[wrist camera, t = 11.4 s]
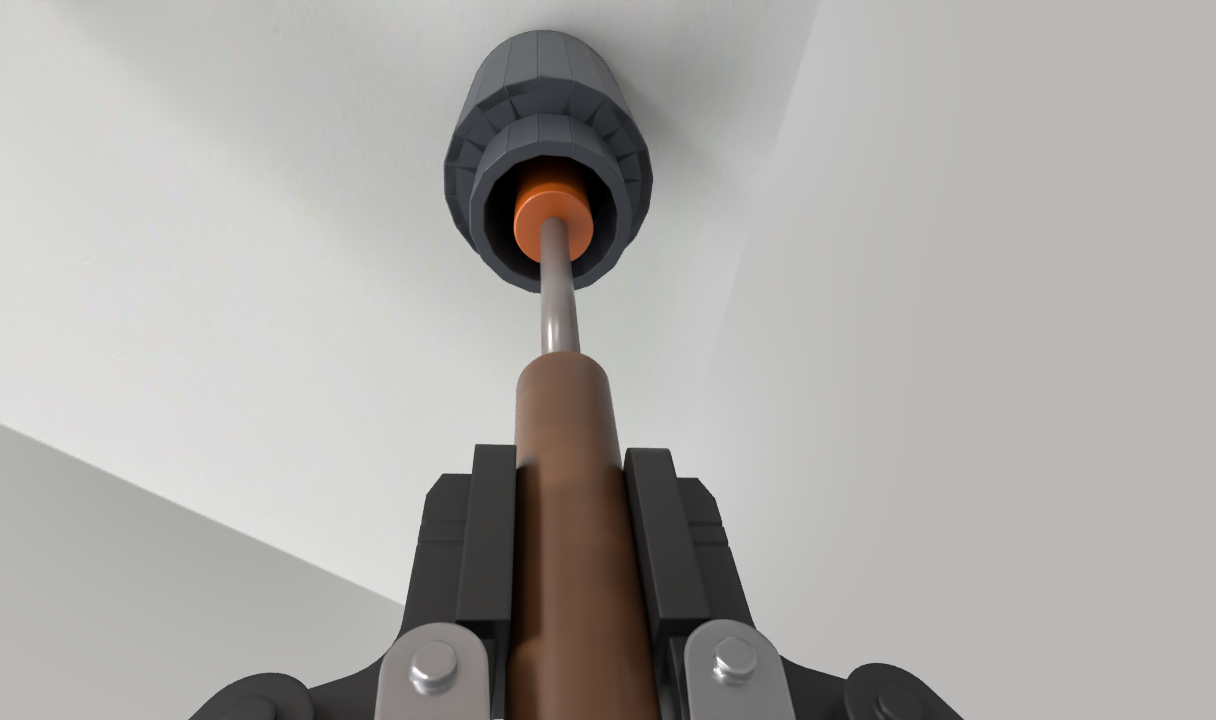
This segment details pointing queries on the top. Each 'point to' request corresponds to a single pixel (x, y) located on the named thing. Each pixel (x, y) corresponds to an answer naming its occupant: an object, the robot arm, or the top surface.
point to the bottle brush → (570, 495)
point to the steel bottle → (546, 152)
